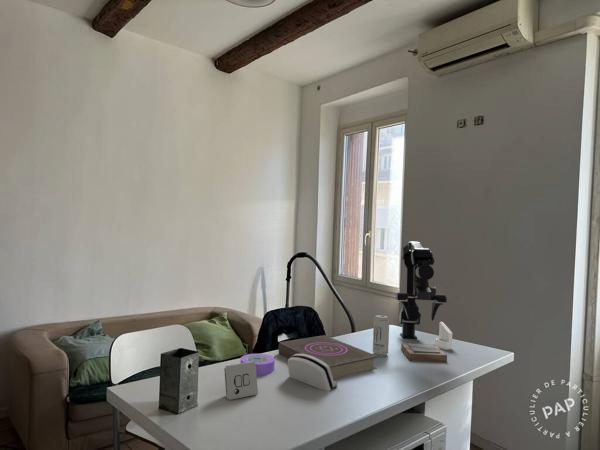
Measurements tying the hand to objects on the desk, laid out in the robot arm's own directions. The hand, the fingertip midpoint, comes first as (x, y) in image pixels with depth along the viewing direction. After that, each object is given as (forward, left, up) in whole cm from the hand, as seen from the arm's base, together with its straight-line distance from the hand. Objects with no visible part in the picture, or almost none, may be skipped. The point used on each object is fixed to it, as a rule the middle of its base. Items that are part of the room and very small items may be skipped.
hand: (420, 319), depth 168 cm
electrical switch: (+44, -64, -14) cm, 79 cm away
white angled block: (-12, +14, -14) cm, 23 cm away
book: (+11, -37, -15) cm, 42 cm away
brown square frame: (0, +2, -14) cm, 14 cm away
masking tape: (+22, -61, -15) cm, 67 cm away
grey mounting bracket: (+33, -43, -14) cm, 56 cm away
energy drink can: (+1, -15, -14) cm, 21 cm away
